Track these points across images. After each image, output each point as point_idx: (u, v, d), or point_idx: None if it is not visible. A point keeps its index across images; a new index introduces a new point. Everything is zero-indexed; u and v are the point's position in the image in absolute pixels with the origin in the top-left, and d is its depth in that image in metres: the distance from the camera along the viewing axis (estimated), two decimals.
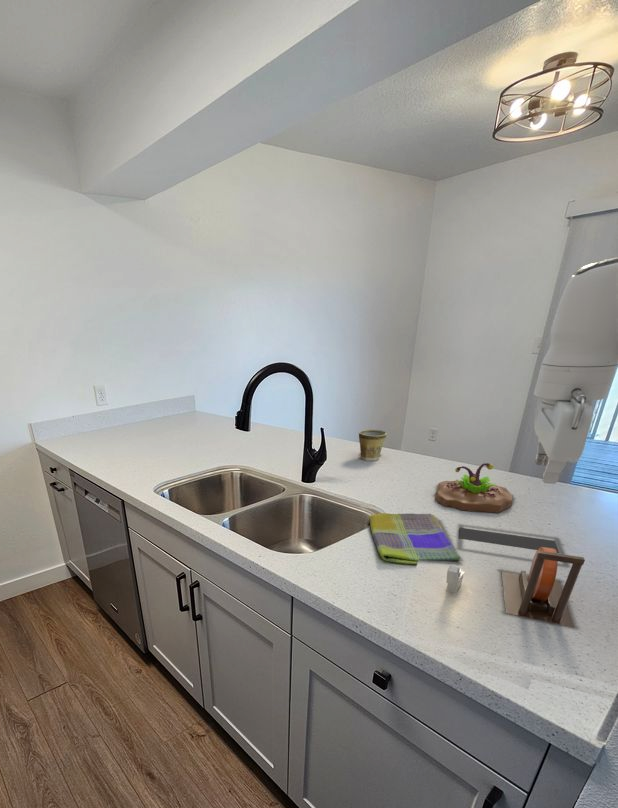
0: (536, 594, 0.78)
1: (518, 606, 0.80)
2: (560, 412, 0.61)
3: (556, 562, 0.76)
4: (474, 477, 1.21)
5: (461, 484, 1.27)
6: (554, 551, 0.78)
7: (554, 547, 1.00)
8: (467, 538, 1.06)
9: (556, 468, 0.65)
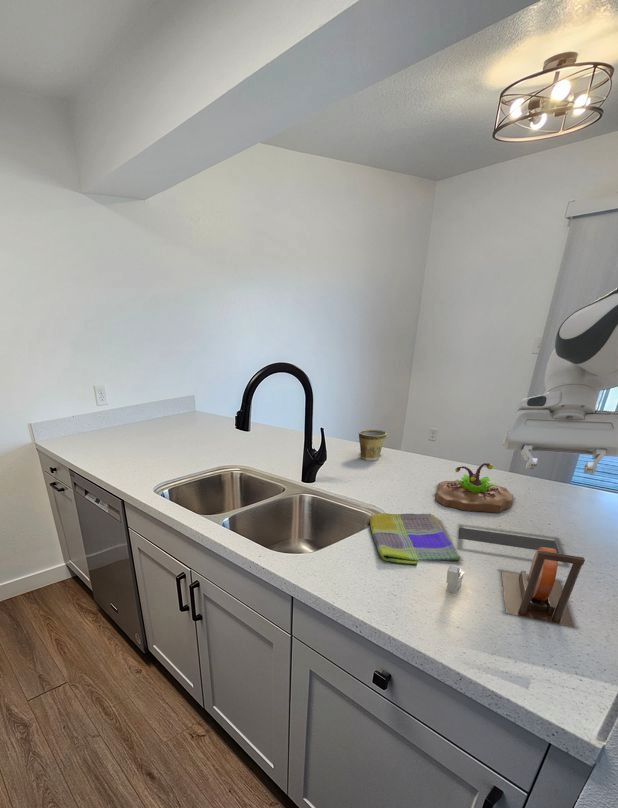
0: (536, 594, 0.78)
1: (518, 606, 0.80)
2: None
3: (556, 562, 0.76)
4: (474, 477, 1.21)
5: (461, 484, 1.27)
6: (554, 551, 0.78)
7: (554, 547, 1.00)
8: (467, 538, 1.06)
9: None
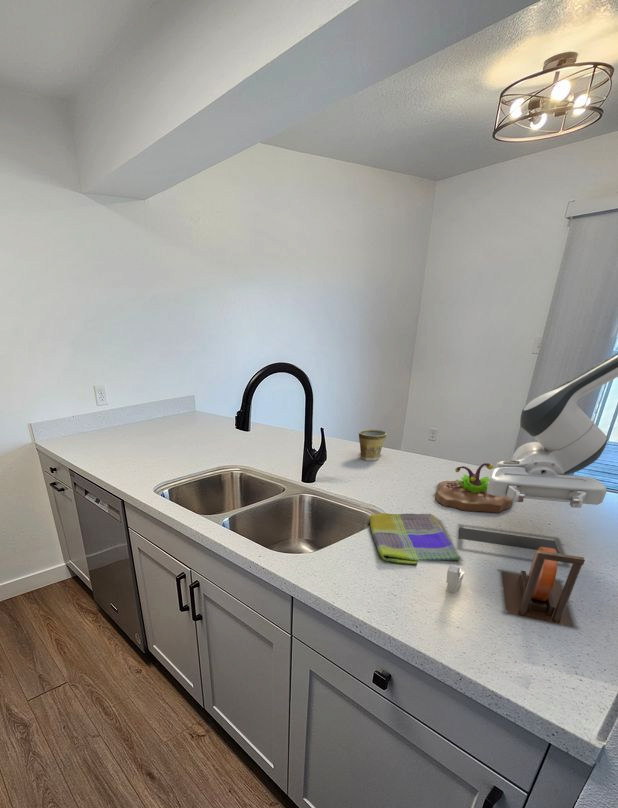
0: (536, 594, 0.78)
1: (518, 606, 0.80)
2: (588, 477, 0.91)
3: (556, 562, 0.76)
4: (474, 477, 1.21)
5: (461, 484, 1.27)
6: (554, 551, 0.78)
7: (554, 547, 1.00)
8: (467, 538, 1.06)
9: None
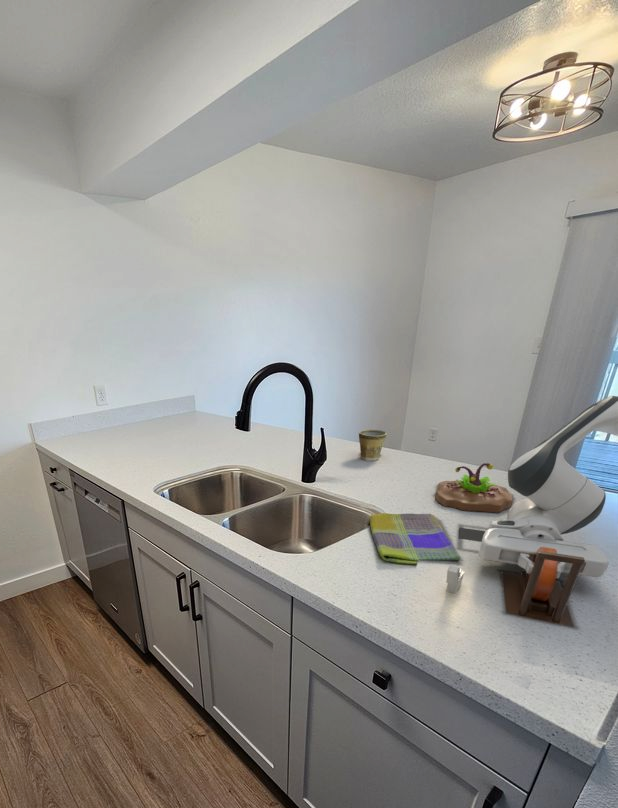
0: (536, 594, 0.78)
1: (518, 606, 0.80)
2: (589, 545, 0.84)
3: (556, 562, 0.76)
4: (474, 477, 1.21)
5: (461, 484, 1.27)
6: (554, 551, 0.78)
7: None
8: (467, 538, 1.06)
9: (561, 570, 0.80)
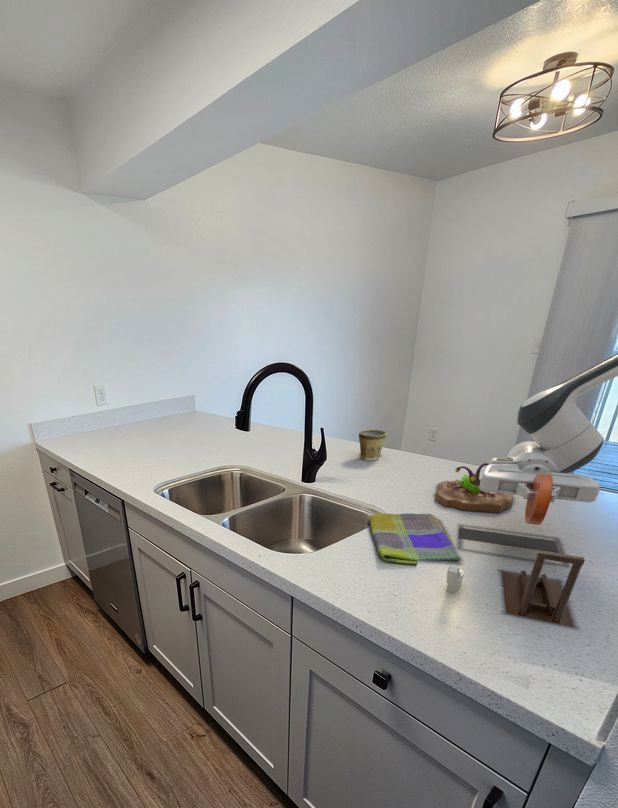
0: (533, 516, 0.84)
1: (518, 606, 0.80)
2: (582, 475, 0.90)
3: (551, 484, 0.82)
4: (474, 477, 1.21)
5: (461, 484, 1.27)
6: (549, 476, 0.84)
7: (554, 547, 1.00)
8: (467, 538, 1.06)
9: (556, 495, 0.86)
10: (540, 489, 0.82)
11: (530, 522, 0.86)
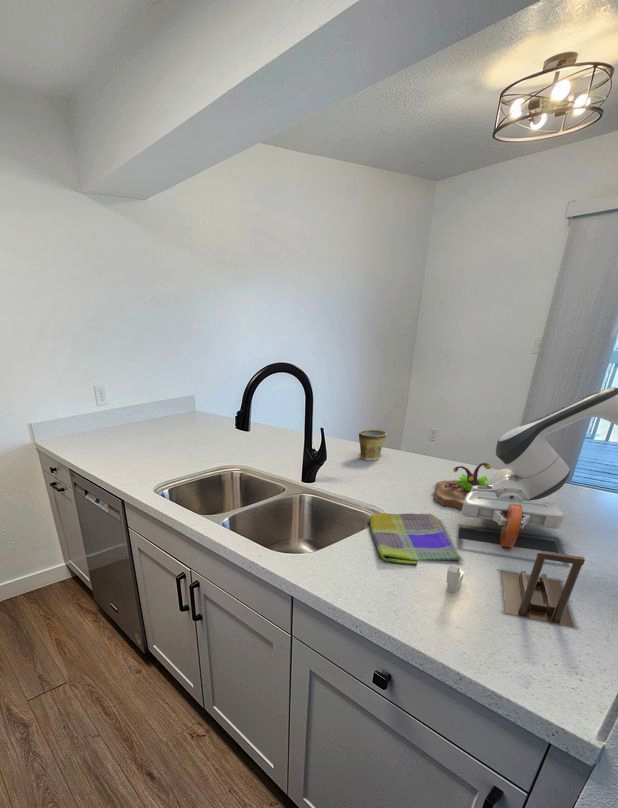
0: (505, 541, 0.97)
1: (518, 606, 0.80)
2: None
3: (521, 514, 0.95)
4: (472, 477, 1.21)
5: (459, 484, 1.27)
6: (520, 506, 0.97)
7: (554, 547, 1.00)
8: (467, 538, 1.06)
9: (526, 522, 1.00)
10: (511, 518, 0.96)
11: (503, 545, 0.99)
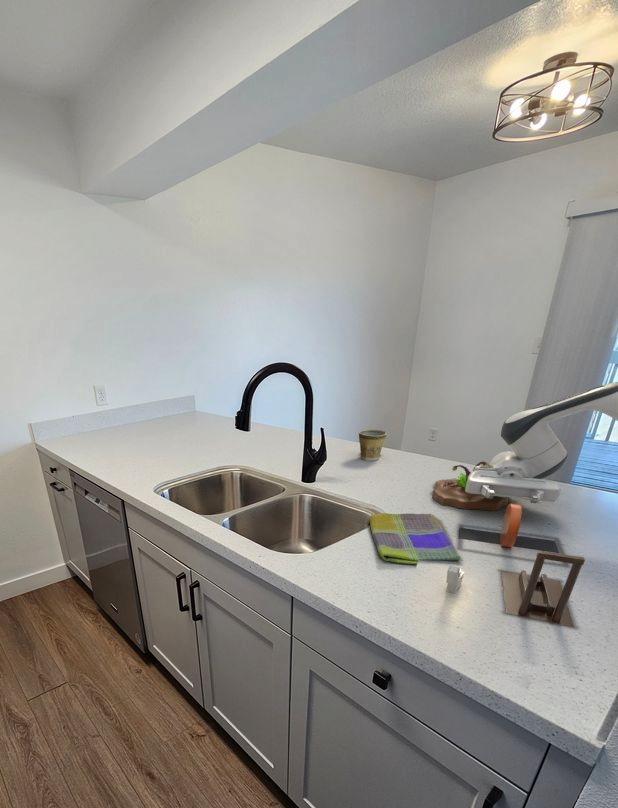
0: (505, 540, 0.97)
1: (518, 606, 0.80)
2: (548, 480, 1.11)
3: (520, 513, 0.96)
4: None
5: (458, 482, 1.28)
6: (519, 505, 0.98)
7: (554, 547, 1.00)
8: (467, 538, 1.06)
9: (540, 498, 1.06)
10: (511, 517, 0.96)
11: (503, 545, 0.99)
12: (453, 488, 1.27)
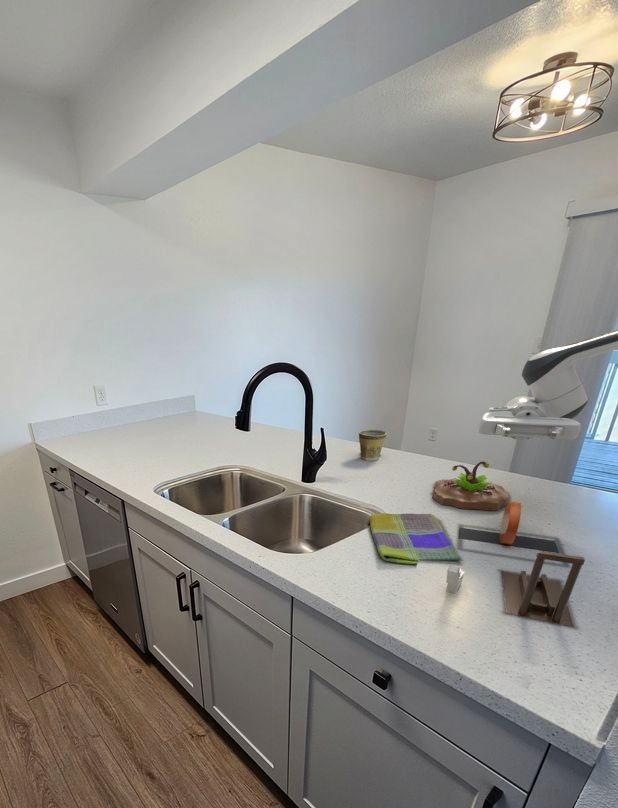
0: (506, 532, 0.98)
1: (518, 606, 0.80)
2: (566, 418, 1.05)
3: (520, 506, 0.97)
4: (471, 475, 1.22)
5: (458, 482, 1.28)
6: (518, 502, 1.00)
7: (554, 547, 1.00)
8: (467, 538, 1.06)
9: (559, 434, 1.00)
10: (511, 509, 0.98)
11: (504, 540, 0.99)
12: (453, 488, 1.27)
